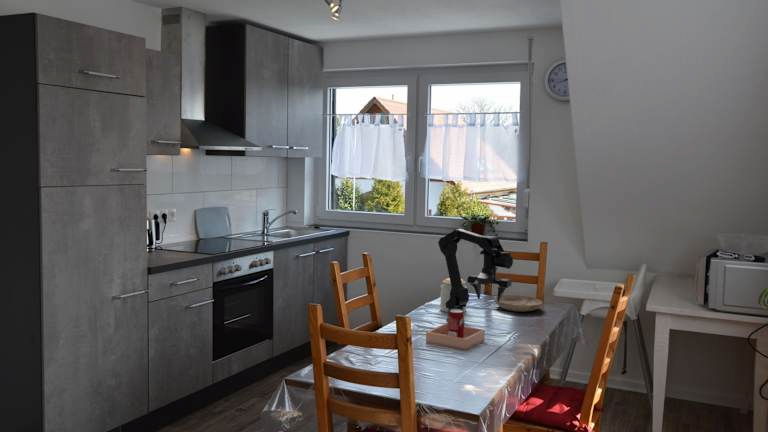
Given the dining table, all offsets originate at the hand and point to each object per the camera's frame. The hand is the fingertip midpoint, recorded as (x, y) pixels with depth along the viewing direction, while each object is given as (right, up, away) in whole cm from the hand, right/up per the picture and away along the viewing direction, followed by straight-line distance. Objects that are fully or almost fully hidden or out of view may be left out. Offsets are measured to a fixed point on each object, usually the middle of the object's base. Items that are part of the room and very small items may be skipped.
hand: (488, 300), depth 302 cm
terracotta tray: (-17, -15, -19) cm, 29 cm away
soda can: (-17, -14, -19) cm, 29 cm away
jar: (-12, -9, +35) cm, 39 cm away
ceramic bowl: (+21, -10, +41) cm, 47 cm away
